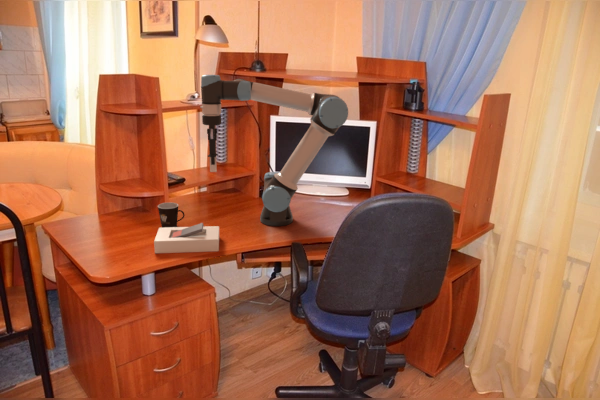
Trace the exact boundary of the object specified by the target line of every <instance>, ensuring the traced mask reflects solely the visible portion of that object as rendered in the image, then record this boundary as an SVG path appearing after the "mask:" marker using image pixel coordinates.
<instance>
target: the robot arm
mask: <svg viewBox="0 0 600 400" xmlns="http://www.w3.org/2000/svg"><path fill="white" fill-rule="evenodd" d="M200 84H201V85H200V90H201V91H200V93H201V105H200V109H201V111H202V112H201V113H202V116H201V118H202V119H201V121H202V123H201V124H202V125H204V126H208V128H207V130H206V135H207V140H208V150H209V154H208V155H207V158H209V172H210V173H217V172H218V171H217V170H218V169H217V168H218V167H217V156H218V155H219V154H218V153H217V145H216V144H217V138H218V137H217V136H218V129H217V128H216V126H220V125H222V115H221V114H222V101H241V102H245V101H255V102H260V103H264V104H268V105H273V106H279V107H283V108H286V109H292V110H296V111H301V112H305V113H308V115H309V116H311V118H310V119H309V120H310V125H309V127H308V128H307V131H306V132H305V133H304V135H303V137H302V138H301V139H300V141H299V143H298V144H297V146H296V147H295V149H294V150H293V152H292V153H291V154H290V156H289V158H288V159H287V161H286V163H284V166H283V167H282V169H281V170H280V171H270V172H269V171H268V172H266V173H265V174H264V177H263V180H264V182H263V183H264V187H263V192H262V195H261V199H262V203H263V207H262V209H261V212H260V213H261V214H260V217H259V218H260V219H259V220H260V223H262V224H263V225H266V226H269V227H270V226H271V227H284V226H288V225H291V224H292V223H293V220H294V219H293V218H294V216H293V212H292V210H291V206H290V205H291V202H292V201H291V200H292V198H293V196H294V195H295V194H296V192H297V190H298V183H299V181H300V180H301V178H302V177H303V175H304V174H305V172H306V171H307V169H308V168H309V167H310V165H311V163H313V160H314V159H315V157H316V156H317V155H318V153H319V151H320V150H321V148H322V147H323V146H324V144H325V142H326V141H327V140H328V138H329V137H332V136H335V134H336V133H337V131H338V130H339V129H340V127H342V126H343V125H345V123H346V121H347V120H348V117H349V108H348V105H347V102H346V101H345V100H343V98H341V97H340V96H338V95H336V94H329V93H328V94H327V93H319V92H313V93H306V92H302V91H298V90H292V89H288V88H282V87H278V86H274V85H269V84H264V83H260V82H254V81H250V80H245V79H244V78H236V79H234V80H223V79H222V78H221V76H220V75H219V74H203V75H202V76H201V78H200Z"/></svg>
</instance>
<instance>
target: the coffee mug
mask: <svg viewBox="0 0 600 400" xmlns="http://www.w3.org/2000/svg"><path fill="white" fill-rule="evenodd" d="M157 211H158V215H159V220H160V224H161V228H165V227H178V222H180V221H182V220H183V219H184V218H185V216H186V214H185V212H184V211H183V210H181V209H179V204H178V203H177V202H171V201H170V202H162V203H160V204H158V205H157ZM179 212H180V213H182V217H181V218H180V219H178V217H179V215H178V213H179Z"/></svg>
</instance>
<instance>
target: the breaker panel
mask: <svg viewBox="0 0 600 400" xmlns="http://www.w3.org/2000/svg"><path fill="white" fill-rule="evenodd" d="M188 227H189V226H177V227H165V228H162V227H158V229H157V233H156V236H155V238H154V241H153V245H154V247H153V249H154V254H172V253H173V254H174V253H175V254H177V253H204V252H219V251H220V226H218V225H217V226H215V225H213V226H211V225H210V226H209V225H207V226H206V225H204V226H203V231H202V232H199V233H197V234H194V235H191V236H188V237H179V238H171V236H172V233H173V232H176V231H179V230H182V229H185V228H188Z"/></svg>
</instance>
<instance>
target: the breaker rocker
mask: <svg viewBox="0 0 600 400" xmlns="http://www.w3.org/2000/svg"><path fill="white" fill-rule="evenodd" d="M204 226H205V225H204V222H200V223H198V224H194V225H192V226H187V227H188V228H185V229H182V230H179V231H176V232H173V233H172V236H171V238H179V237H188V236H191V235H194V234H197V233H199V232H202V231H203V227H204Z"/></svg>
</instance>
